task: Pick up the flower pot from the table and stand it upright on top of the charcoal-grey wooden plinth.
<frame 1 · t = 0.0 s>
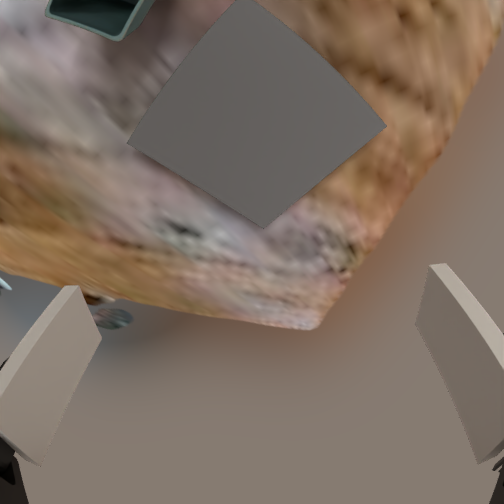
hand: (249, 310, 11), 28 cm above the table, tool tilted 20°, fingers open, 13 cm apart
plinth: (255, 113, 33), on the table
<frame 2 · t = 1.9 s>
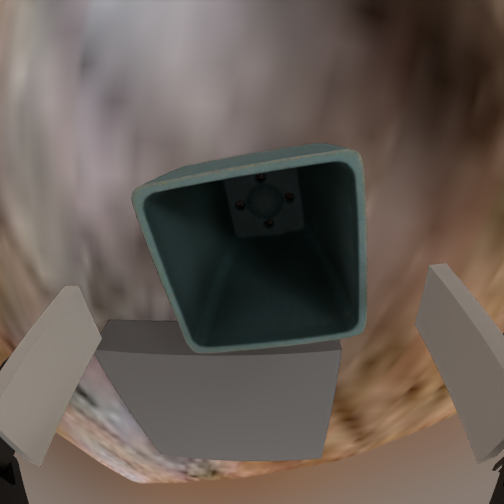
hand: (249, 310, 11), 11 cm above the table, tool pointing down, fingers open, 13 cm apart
plinth: (228, 391, 30), on the table
flower pot: (263, 199, 21), on the table
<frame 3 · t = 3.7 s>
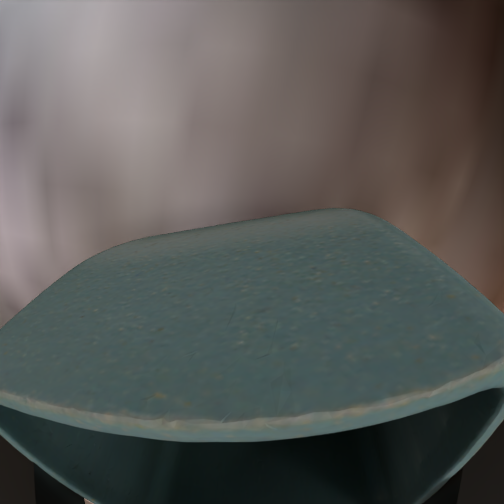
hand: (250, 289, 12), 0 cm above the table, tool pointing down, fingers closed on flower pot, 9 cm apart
flower pot: (250, 280, 12), on the table, touching gripper
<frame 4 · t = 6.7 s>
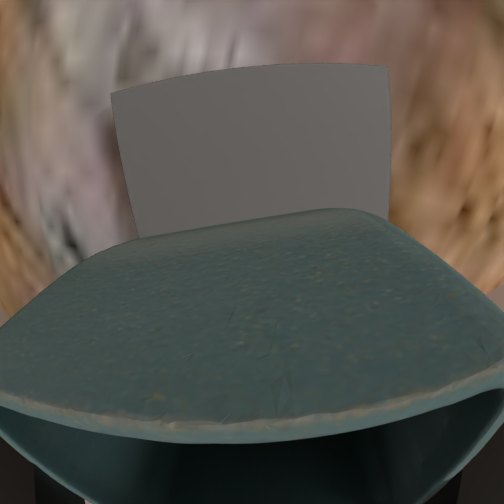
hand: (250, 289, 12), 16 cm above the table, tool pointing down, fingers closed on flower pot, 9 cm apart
plinth: (260, 188, 26), on the table
flower pot: (250, 280, 12), point 15 cm above the table, touching gripper
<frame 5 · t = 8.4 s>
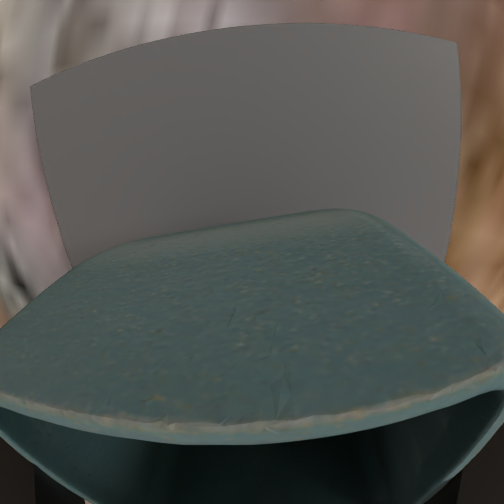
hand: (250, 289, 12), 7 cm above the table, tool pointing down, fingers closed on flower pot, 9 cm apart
plinth: (255, 221, 18), on the table
flower pot: (250, 280, 12), point 6 cm above the table, touching gripper
when the fingers open (6 cm above the table, at t = 9.5 s): flower pot drops 1 cm, resting on plinth.
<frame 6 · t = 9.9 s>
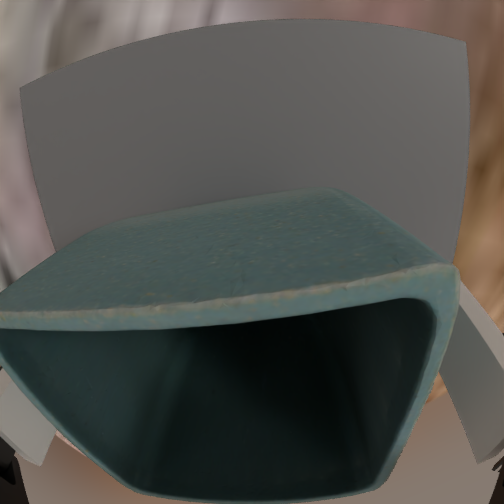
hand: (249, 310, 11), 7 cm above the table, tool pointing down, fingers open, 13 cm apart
plinth: (254, 228, 17), on the table
flower pot: (239, 258, 14), point 4 cm above the table, touching plinth
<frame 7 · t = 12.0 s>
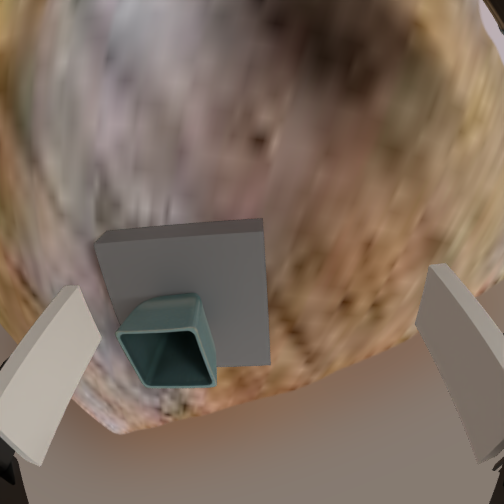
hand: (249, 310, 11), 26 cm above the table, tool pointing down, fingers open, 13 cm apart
plinth: (191, 294, 41), on the table
flower pot: (182, 309, 38), point 4 cm above the table, touching plinth
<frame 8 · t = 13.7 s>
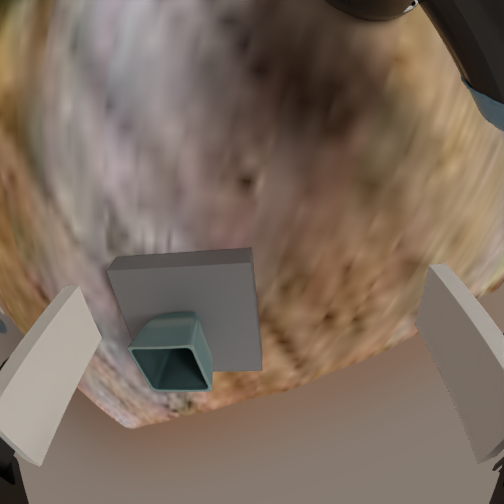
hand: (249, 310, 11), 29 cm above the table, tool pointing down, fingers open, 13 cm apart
plinth: (192, 309, 47), on the table
flower pot: (184, 324, 44), point 4 cm above the table, touching plinth
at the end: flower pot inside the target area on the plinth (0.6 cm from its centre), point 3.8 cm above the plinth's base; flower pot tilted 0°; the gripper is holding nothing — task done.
